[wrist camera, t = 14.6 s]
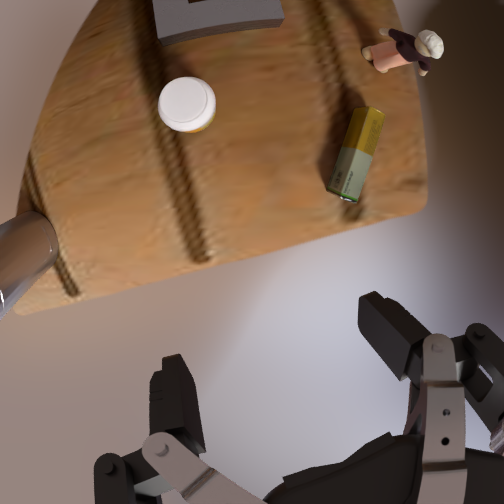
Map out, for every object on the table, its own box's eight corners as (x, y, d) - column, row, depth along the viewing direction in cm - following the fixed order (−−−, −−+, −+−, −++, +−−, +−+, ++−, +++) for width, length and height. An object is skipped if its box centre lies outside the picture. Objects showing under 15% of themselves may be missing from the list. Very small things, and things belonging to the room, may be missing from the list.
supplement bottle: (160, 118, 29) (138, 110, 20) (187, 80, 27) (175, 58, 19) (198, 141, 31) (190, 142, 22) (225, 104, 29) (228, 90, 20)
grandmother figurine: (351, 55, 28) (408, 29, 16) (360, 36, 27) (416, 6, 15) (396, 87, 30) (460, 79, 18) (403, 68, 29) (466, 55, 17)
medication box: (342, 198, 35) (356, 205, 32) (325, 191, 35) (338, 198, 31) (370, 115, 31) (387, 114, 28) (353, 106, 31) (369, 104, 27)
